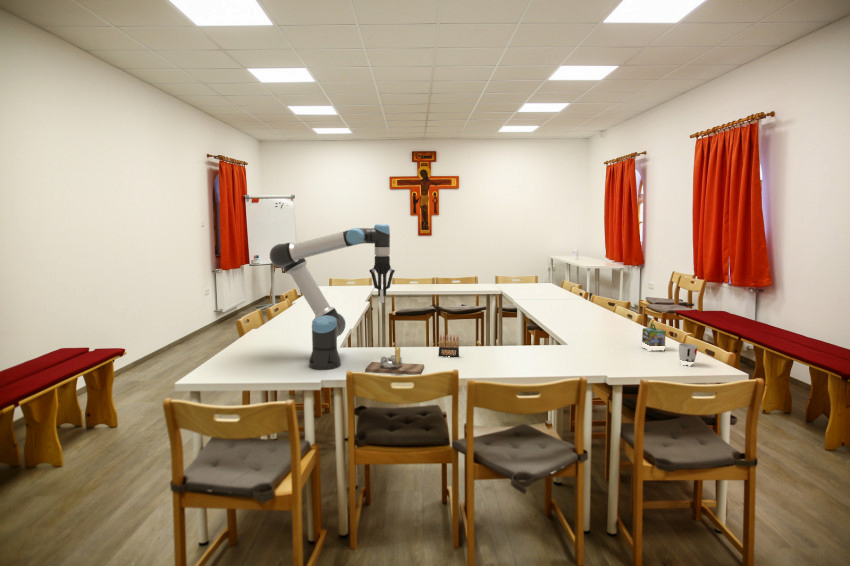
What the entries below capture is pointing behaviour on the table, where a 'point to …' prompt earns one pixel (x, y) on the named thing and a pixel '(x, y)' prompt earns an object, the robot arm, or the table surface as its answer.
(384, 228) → the robot arm
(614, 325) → the table surface
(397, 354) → the silver teapot
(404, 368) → the base plate
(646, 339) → the lunch box
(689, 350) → the cup
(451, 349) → the ammunition clip
